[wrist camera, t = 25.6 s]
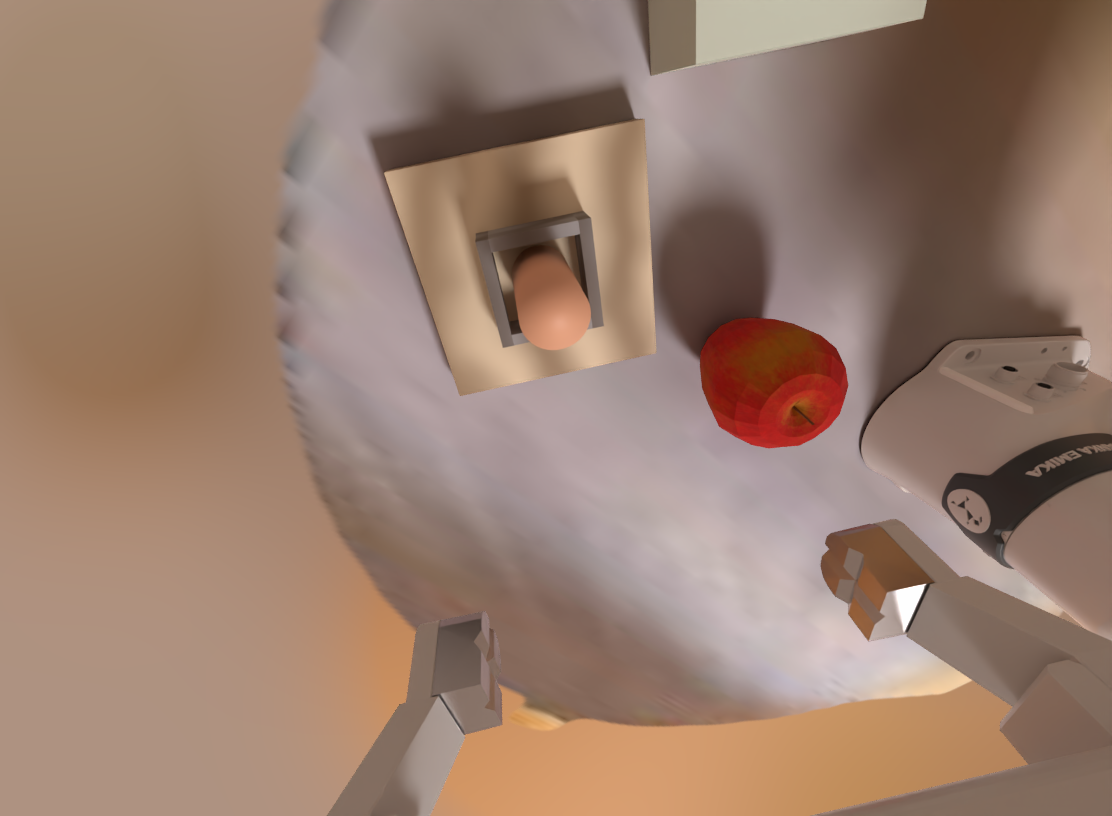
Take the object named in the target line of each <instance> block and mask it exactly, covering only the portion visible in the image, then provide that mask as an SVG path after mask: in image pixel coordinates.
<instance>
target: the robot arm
mask: <svg viewBox="0 0 1112 816" xmlns="http://www.w3.org/2000/svg"><path fill="white" fill-rule="evenodd" d="M1090 358H1091V346H1090V342H1089V341H1088V340H1087V339H1085V338H1083V337H1080V336H1049V337H1023V338H998V339H973V340H957V341H954V342H952V343H950V344H948V345H947V346H946V347H945V348H944V349H943V350H941V351H940V353H939V354H938V355H937V356H936V357H935V358H934V359H933V360H932V361H931V362H930V364H929V365H928V366H927V367H926V368H925V369H924V370H922V371H921V372H920V373H919V374H917V375H916V376H914V377H913V378H911V379H910V380H909V381H907V382H906V383H904V384H903V385H902V386H901V387H899V388H898V389H897V390H896V391H895V392H893V393H892V394H891V395H890V396H889V397H888V398H887V399H886V400H885V401H884V402H883V404H882V405H881V406H880V407H879V408H878V410H877V411H876V412H875V414H874V415H873V417H872V418H871V420H870V422H869V424H868V425H867V428H866V430H865V432H864V435H863V439H862V444H861V453H862V457H863V460H864V462H865V464H866V465H867V466H868V467H869V468H870V469H871V470H873V471H874V472H876V473H878V474H880V475H882V476H884V477H886V478H888V479H890V480H891V481H893V483H894V484H895V485H896V486H897V487H898V488H899V489H901V490H902V491H904V492H906V493H912V494H913V495H915V496H916V497H918V498H919V499H920V500H922V501H923V502H925V503H926V504H927V505H929V506H930V507H932V508H933V509H935V510H936V511H937V512H939V513H940V514H942V515H943V516H945V517H946V518H948V519H949V520H950V521H952V522H953V523H955V524H956V525H958V526H959V528H960V529H961V530H962V531H963V533H964V534H965V535H966V536H967V537H968V538H969V539H971V540H972V541H973V542H974V543H975V544H976V545H978V546H979V547H980V548H981V549H982V550H983V552H985V553H986V554H987V555H988V556H989V557H992V558H994V559H995V560H996V561H997V562H999V563H1000V564H1001V565H1003V566H1004V567H1007V568H1010V569H1015V570H1016V571H1017V572H1018V573H1020V574H1021V575H1022V576H1023V577H1024V578H1026V579H1027V580H1028V581H1029V582H1030V583H1032V584H1033V585H1034V586H1035V587H1036V588H1037V589H1039V590H1040V591H1041V592H1042V593H1043V594H1045V595H1046V596H1047V597H1048V598H1049V599H1051V600H1052V601H1053V602H1054V603H1055V604H1056V605H1058V606H1059V607H1060V608H1061V609H1062V610H1064V611H1065V612H1066V613H1067V614H1068V615H1070V616H1071V617H1072V618H1073V619H1074V620H1075V621H1077V622H1078V623H1079V624H1080V625H1081V626H1083V627H1084V628H1085V629H1084V628H1082V627H1079V626H1077V625H1075V624H1073V623H1071V622H1068V621H1066V620H1064V619H1061V618H1059V617H1057V616H1055V615H1053V614H1051V613H1048V612H1046V611H1044V610H1042V609H1039V608H1037V607H1035V606H1033V605H1030V604H1028V603H1026V602H1024V601H1022V600H1019V599H1017V598H1015V597H1013V596H1010V595H1008V594H1006V593H1004V592H1001V591H999V590H997V589H995V588H993V587H990V586H988V585H986V584H984V583H981V582H979V581H977V580H975V579H973V578H970V577H968V576H965V577H960V576H958V575H957V574H956V573H955V572H954V571H953V570H952V569H951V568H950V567H949V566H948V565H947V564H946V563H945V562H944V561H943V560H942V559H941V558H940V557H938V556H937V555H936V554H935V553H934V552H933V551H932V550H931V549H930V548H929V547H928V546H927V545H926V544H925V543H924V542H923V541H922V540H921V539H920V538H918V537H917V536H916V535H915V534H914V533H913V532H912V531H911V530H910V529H909V528H908V527H907V526H906V525H905V524H904V523H902V522H901V521H899V520H897V519H890V520H886V521H882V522H878V523H874V524H867V525H863V526H858V527H854V528H850V529H846V530H842V531H838V532H834V533H831V534H829V535H828V536H827V538H826V542H825V544H826V546H827V547H828V548H829V550H828V551H827V552H826V553H825V554H824V555H823V556H822V560H821V570H822V574H823V578H824V580H825V581H826V583H827V585H828V587H829V589H830V590H831V591H832V593H833V594H834V596H835V597H837V598H839V599H841V600H843V601H844V602H846V603H848V615H849V616H850V617H851V619H852V620H853V621H854V623H855V624H856V625H857V627H858V628H859V629H860V631H861V632H862V633H863V635H864V636H865V637H866V639H867V640H868V641H873V640H878V639H884V638H889V637H894V636H899V635H904V634H907V637H908V638H910V639H911V640H913V641H914V642H916V643H917V644H919V645H920V646H922V647H923V648H925V649H926V650H928V651H929V652H931V653H932V654H934V655H935V656H937V657H938V658H940V659H941V660H943V661H944V662H946V663H947V664H949V665H950V666H952V667H954V668H955V669H957V670H958V671H960V672H961V673H963V674H964V675H966V676H967V677H969V678H970V679H972V680H973V681H975V682H976V683H978V684H979V685H981V686H982V687H984V688H985V689H987V690H988V691H990V692H991V693H993V694H994V695H996V696H998V697H999V698H1000V699H1002V700H1003V701H1005V702H1006V703H1008V704H1009V705H1011V706H1013V707H1012V709H1011V710H1010V711H1009V712H1008V713H1007V715H1006V716H1005V717H1004V718H1003V719H1002V721H1001V722H1000V731H1001V732H1002V733H1003V734H1004V735H1005V737H1006V738H1007V739H1008V740H1009V741H1010V743H1011V744H1012V745H1013V746H1014V747H1015V749H1016V750H1017V751H1018V752H1019V754H1020V755H1021V756H1022V757H1023V758H1024V760H1025V761H1026V762H1027V763H1028V764H1029V765H1025V766H1021V767H1016V768H1012V769H1008V770H1004V771H1000V772H995V773H991V774H987V775H983V776H978V777H974V778H970V779H965V780H961V781H957V782H952V783H948V784H944V785H940V786H935V787H931V788H927V789H923V790H918V791H914V792H910V793H906V794H901V795H897V796H893V797H889V798H884V799H880V800H876V801H872V802H868V803H863V804H859V805H854V806H850V807H846V808H842V809H838V810H833V811H829V812H824V813H820V814H816V815H812V816H1112V382H1110V381H1109V380H1107V379H1105V378H1103V377H1101V376H1099V375H1097V374H1095V373H1093V372H1091V371H1089V370H1088V366H1089V362H1090ZM500 673H501V660H500V651H499V644H498V640H497V637H496V634H495V632H494V630H493V629H491V628H489V618H488V616H487V614H486V612H485V611H482V612H478V613H473V614H468V615H464V616H459V617H454V618H450V619H445V620H439V621H434V622H430V623H426V624H421V625H419V627H418V629H417V632H416V635H415V642H414V650H413V657H412V664H411V671H410V678H409V685H408V692H407V700H406V703H403V704H399V706H398V707H397V709H396V710H395V712H394V713H393V715H392V717H391V718H390V720H389V721H388V723H387V724H386V726H385V727H384V729H383V731H382V732H381V734H380V735H379V737H378V738H377V740H376V741H375V743H374V744H373V746H372V748H371V749H370V751H369V752H368V754H367V755H366V756H365V758H364V760H363V761H362V763H361V764H360V766H359V767H358V769H357V770H356V772H355V774H354V775H353V776H352V778H351V780H350V781H349V783H348V784H347V786H346V787H345V789H344V790H343V792H342V793H341V795H340V797H339V798H338V800H337V801H336V803H335V804H334V806H333V807H332V809H331V810H330V812H329V813H328V815H327V816H430V815H431V813H432V810H433V808H434V806H435V804H436V802H437V799H438V797H439V795H440V792H441V790H442V788H443V786H444V784H445V781H446V779H447V777H448V775H449V772H450V770H451V768H452V766H453V764H454V761H455V759H456V757H457V755H458V752H459V750H460V748H461V746H462V743H463V741H464V739H465V736H464V735H465V734H469V733H473V732H477V731H481V730H485V729H489V728H492V727H496V726H500V725H502V693H501V690H500V688H499V686H498V684H497V682H496V680H497V678H498V676H499V674H500Z"/></svg>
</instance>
